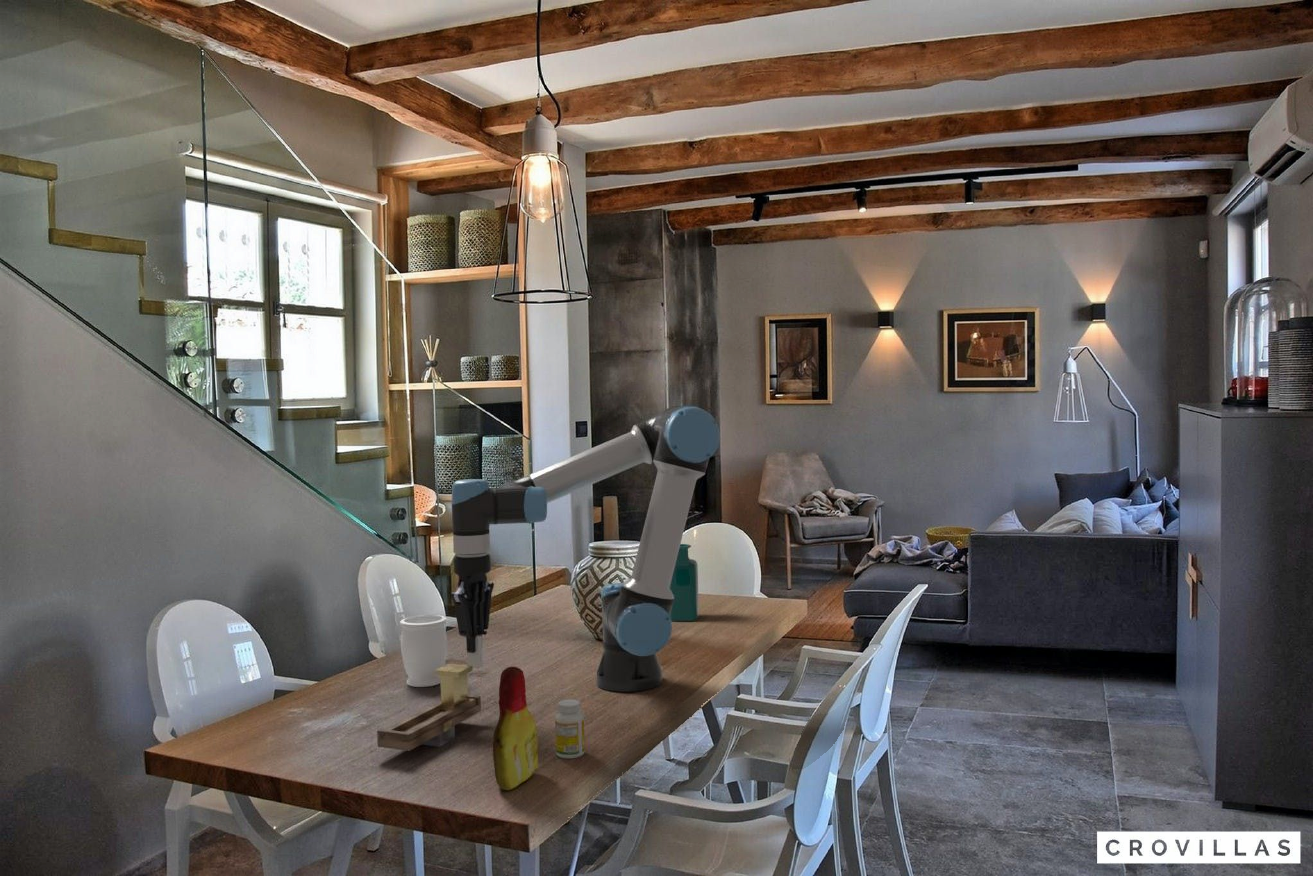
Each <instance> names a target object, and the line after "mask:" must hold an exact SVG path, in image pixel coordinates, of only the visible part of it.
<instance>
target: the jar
mask: <svg viewBox="0 0 1313 876" xmlns="http://www.w3.org/2000/svg"><path fill="white" fill-rule="evenodd" d="M446 622H447V617H446V616H445V615H444V616H443V615H437V614H436V615H435V614H423V615H413V616H408V617H406V618H403V619H401V620H400V621H399V623H400V624H399V625H400V627H401V628H402V631H401V634H400V635H401V637H400V651H401V652H400V653H401V657H402V660H403V661H402V662H403V667H404V671H405V672H406V675H407V676H408V678H407V680H406V684H407V686H409V687H415V688H425V687H427V688H428V687H433V686H437V685H441V681H440V676H438V675H435V670H436V669H438V668H441V667H443V666H445V665H446V661H447V652H448V636H447V632H446V631H447V630H446V627H445V624H446Z"/></svg>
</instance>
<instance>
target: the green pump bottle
mask: <svg viewBox="0 0 1313 876" xmlns="http://www.w3.org/2000/svg"><path fill="white" fill-rule="evenodd" d="M691 547H692V545H691V544H687V543H681V544H680V548H679V552H678V556H677V560H676V564H675V568H674V572H673V576H672V580H671V584H670V590H671V592H672V594H673V595H674V601H673V605H672V609H671V613H670V619H671V622H695V621H697V620H698V618H699V615H700V608H699V605H700V603H699V601H700V600H699V570H698V569H699V568H698V566H699V565H698V562H697V561H696V560H695V559H692V558H690V557H689V549H690V548H691Z"/></svg>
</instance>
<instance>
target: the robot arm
mask: <svg viewBox="0 0 1313 876" xmlns="http://www.w3.org/2000/svg"><path fill="white" fill-rule="evenodd" d="M720 438H721V435H720V428H719V425H718V423H717V420H716V419H715V418H714V417H713V415H712V414H711V413H709V412H708V411H707V410H704V409H703V408H700V407H698V406H693V405H692V406H691V405H683V406H681V405H680V406H678V405H677V406H670V407H668V408H666V409H663V410H662V411H660V412H659V413H657V414H655V415H653V416H651V417H650V418H647V419H645V420H643V421H641V422H639V423H636V424H634V425H633V426H632V428H631V430H630V431H629V432H627V433H625V434H622V435H619V436H617V437H615V438H612V439H610V440H608V441H605V442H603V443H601V444H599V445H596V446H593V447H592V448H588V449H587V450H584V451H582V452H580V453H577V454H575V455H573V456H570V457H568V458H566V459H563V460H561V461H558V462H556V463H554V464H551V465H548V466H547V467H545V468H541V469H540V470H536V471H535V472H532V473H530V474H528V475H526V476H523V477H521V478H519V479H516V480H510V481H507V482H505V483H503V484H501V486H500V487H499V488H495V487H494V488H493V487H490V486H489V481H488V480H486V479H483V478H482V479H480V478H479V479H478V478H476V479H474V478H471V479H469V478H467V479H459V480H458V479H457V480H455V482H453V483H452V486H451V520H452V522H451V523H452V536H453V537H452V541H453V542H452V546H453V549H452V550H453V551H452V552H453V554H455V555H454V557H453V573H454V574H455V575H457V576H458V582H457V590H456V591H455V592H454V591H453V592H451V593H450V598H451V600H452V603H453V606H454V611H455V617H456V622H457V628H458V634H459V636H461V637H463V638H464V637H465V638H466V640H465V641H466V642H465V643H466V655H467V656H466V657H467V658H466V660H467V665H469V666H472V669H480V668H482V667H483V666H484V665H483V635H484V636H486V635H487V634H488V629H489V624H490V612H491V605H492V604H491V603H492V593H493V590H494V586H495V583H494V582H490V581H488V577H487V574H488V573H490V572H491V570H492V569H491V555H490V554H489V553H490V552H491V539H490V538H491V537H490V536H491V535H490V525H505V524H506V525H507V524H508V525H509V524H511V525H512V524H529V525H531V524H534V523H542V522H545V521H546V519H547V516H548V515H547V514H548V504H549V503H551V502H554V501H556V500H558V499H561V498H563V497H565V496H568V495H571V494H572V493H575V492H577V491H579V490H582V489H584V488H587V487H589V486H591V485H593V484H596V483H598V482H600V481H603V480H605V479H607V478H610V477H613V476H615V475H617V474H619V473H622V472H624V471H627V470H629V469H631V468H633V467H636V466H637V465H640V464H643V463H646V464H648V465H652V464H654V466H655V467H656V469H657V473H656V477H655V481H654V485H653V488H652V492H651V497H650V501H649V505H648V509H647V513H646V517H645V521H644V524H643V530H642V532H641V533H642V534H641V537H640V539H639V545H638V548H637V553H636V556H635V561H634V564H633V567H632V573H631V577H630V578H629V579H628V580H626V581H624V582H616V583H607V584H605V585H604V586H603V587H602V589H601V596H600V600H601V617H602V619H601V621H602V624H601V625H602V653H601V657H600V660H599V664H598V667H597V671H596V673H595V674H596V677H595V679H596V686H597V687H598V688H601V689H603V690H607V691H611V692H612V691H614V692H640V691H641V692H642V691H647V690H651V689H655V688H657V687H658V686H660V685H661V684H663V670H662V668H661V665H660V663H659V660H658V656H657V653H658V652H660V651H661V650H662V649H664V648H665V647H666V645H667V644H668V642H669V641H670V639H671V637H672V632H673V625H672V621H671V619H670V613H671V609H672V605H673V601H674V595H673V594H672V592H671V590H670V584H671V580H672V576H673V572H674V568H675V564H676V560H677V556H678V552H679V548H680V544H682V540H683V539H682V538H683V536H684V531H685V528H686V524H687V519H688V516H689V512H690V508H691V503H692V499H693V496H694V490H695V488H696V483H697V480H698V479H701V478H702V477H703V476H705V475H706V472H707V468H708V464H709V461H710V458H711V457H713V455H714V454H715V452H716V451H717V449H718V447H719V444H720V440H721V439H720Z"/></svg>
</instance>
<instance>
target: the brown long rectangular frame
mask: <svg viewBox="0 0 1313 876" xmlns="http://www.w3.org/2000/svg"><path fill="white" fill-rule="evenodd" d="M481 701H482V700H481V696H480V695H471V694H470V695H469V694H468V700H467V701H465V702H463V703H461V704H459V705H457V706H455V707H454V708H452V709H450V710H448V711H443V710H442V708H441V701H439V702H437V703H435V704H433V705H431V706H428V707H427V708H425V709H423V710H421V711H419V712H417V713H415V714H413V715H412V716H408V717H407V718H405V719H403V720H402V721H400V722H398V723H395V724H393V725H392V726H389V727H388V728H385V729H384V728H379V729H378V730H376V736H377V737H376V739H377V747H379V748H384V749H385V748H386V749H393V750H399V751H405V752H407V751H408V752H410V751H412V750H413V749H415V748H417V747H419V746H421V745H424V746H430V747H440V748H441V747H443V746H445V745H446V744H447V743H449V742H451V741H453V740H454V739H456V732H455V731H456V729H455V727H456V725H459V724H460V723H462V722H464V721H466V720H467V719H469V718H471V717H472V716H475V715H477V714H478V713H480V712H481V711H482V704H481V703H482V702H481Z"/></svg>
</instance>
